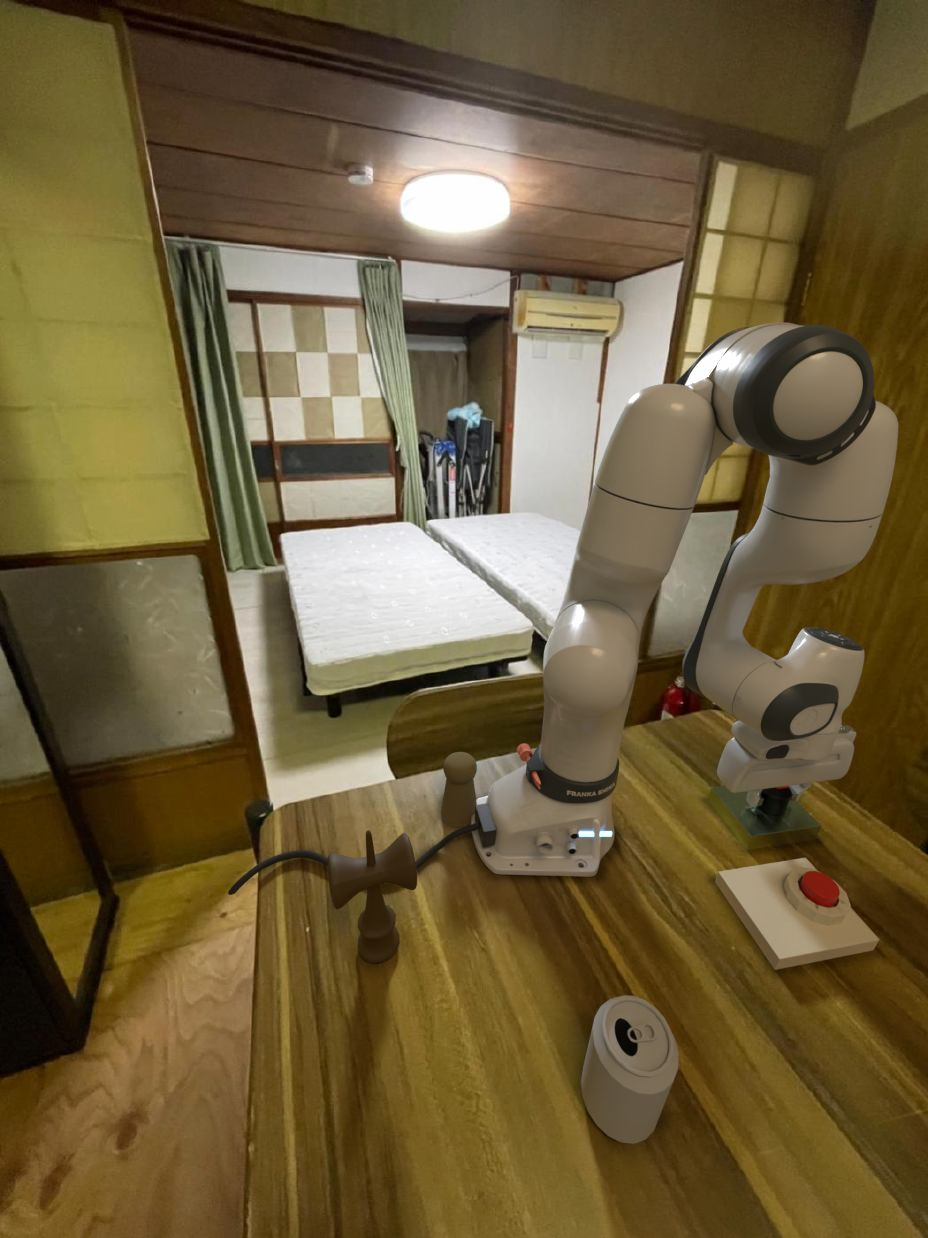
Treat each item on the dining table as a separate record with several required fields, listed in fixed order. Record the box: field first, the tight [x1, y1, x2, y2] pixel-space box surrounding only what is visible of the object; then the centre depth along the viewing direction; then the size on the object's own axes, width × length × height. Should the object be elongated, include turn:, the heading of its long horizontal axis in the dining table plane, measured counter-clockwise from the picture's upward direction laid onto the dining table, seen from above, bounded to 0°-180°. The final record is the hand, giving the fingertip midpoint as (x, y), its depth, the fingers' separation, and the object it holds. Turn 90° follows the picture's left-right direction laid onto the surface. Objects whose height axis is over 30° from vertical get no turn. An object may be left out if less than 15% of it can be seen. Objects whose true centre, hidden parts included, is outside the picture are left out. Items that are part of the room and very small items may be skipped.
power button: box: [800, 870, 840, 907], centre depth 67 cm, size 4×4×2 cm
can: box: [580, 994, 679, 1145], centre depth 48 cm, size 8×8×12 cm
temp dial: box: [758, 786, 792, 815], centre depth 81 cm, size 4×4×4 cm
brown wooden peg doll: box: [440, 751, 478, 827], centre depth 81 cm, size 6×6×11 cm
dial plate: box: [707, 785, 822, 851], centre depth 82 cm, size 12×10×3 cm
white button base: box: [714, 857, 880, 971], centre depth 67 cm, size 14×12×4 cm
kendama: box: [326, 829, 418, 964], centre depth 60 cm, size 6×10×20 cm, turn 108°
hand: (771, 801), depth 81 cm, fingers open, 5 cm apart
